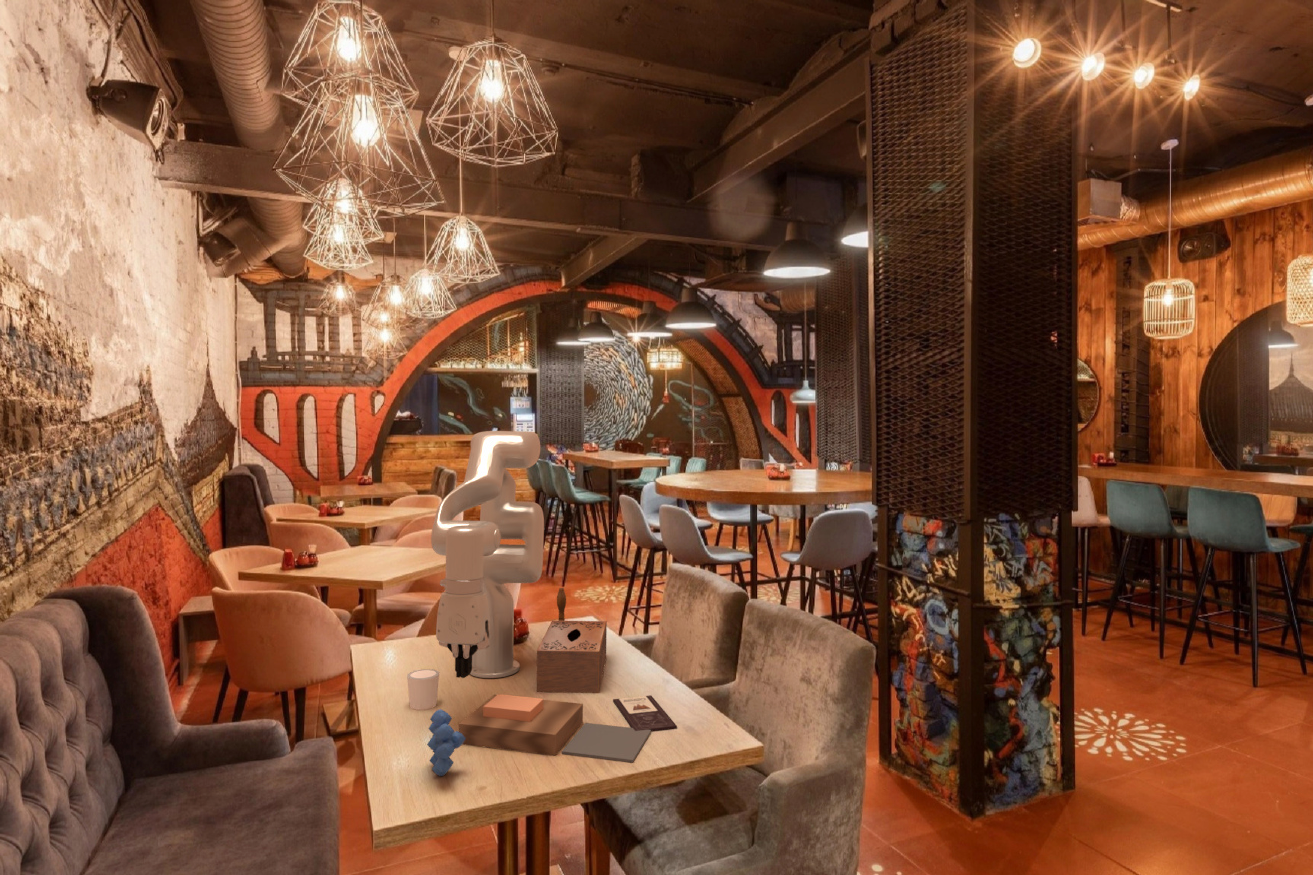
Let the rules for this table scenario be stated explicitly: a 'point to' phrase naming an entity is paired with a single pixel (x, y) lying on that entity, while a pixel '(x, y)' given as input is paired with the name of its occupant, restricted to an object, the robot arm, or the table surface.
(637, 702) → the chocolate bar
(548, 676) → the tissue box cover
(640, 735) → the mat
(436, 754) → the grapes
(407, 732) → the table surface
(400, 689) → the table surface
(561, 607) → the hand bell
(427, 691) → the pale tapered cup
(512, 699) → the orange flat block
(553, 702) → the stand
